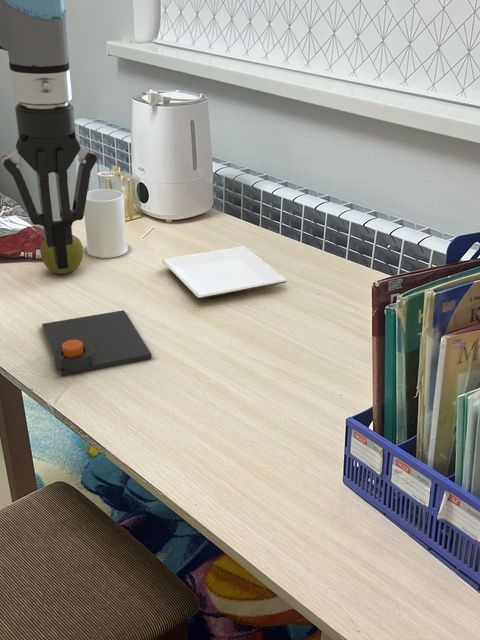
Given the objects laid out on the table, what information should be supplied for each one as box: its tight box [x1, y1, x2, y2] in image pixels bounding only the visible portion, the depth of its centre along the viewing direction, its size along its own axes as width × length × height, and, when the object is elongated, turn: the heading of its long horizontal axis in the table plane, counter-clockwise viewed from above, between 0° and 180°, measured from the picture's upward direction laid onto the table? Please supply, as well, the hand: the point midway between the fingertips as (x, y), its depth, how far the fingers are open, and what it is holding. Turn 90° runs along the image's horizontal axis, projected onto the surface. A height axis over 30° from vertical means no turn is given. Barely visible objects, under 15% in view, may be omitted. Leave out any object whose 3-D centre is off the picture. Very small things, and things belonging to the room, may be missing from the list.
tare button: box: [62, 340, 83, 357], centre depth 105 cm, size 3×3×2 cm
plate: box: [161, 245, 288, 300], centre depth 135 cm, size 19×19×2 cm
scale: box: [41, 309, 152, 377], centre depth 112 cm, size 16×14×2 cm
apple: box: [39, 234, 84, 275], centre depth 134 cm, size 8×8×7 cm
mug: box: [84, 188, 129, 259], centre depth 144 cm, size 12×8×12 cm
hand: (61, 265), depth 105 cm, fingers closed
